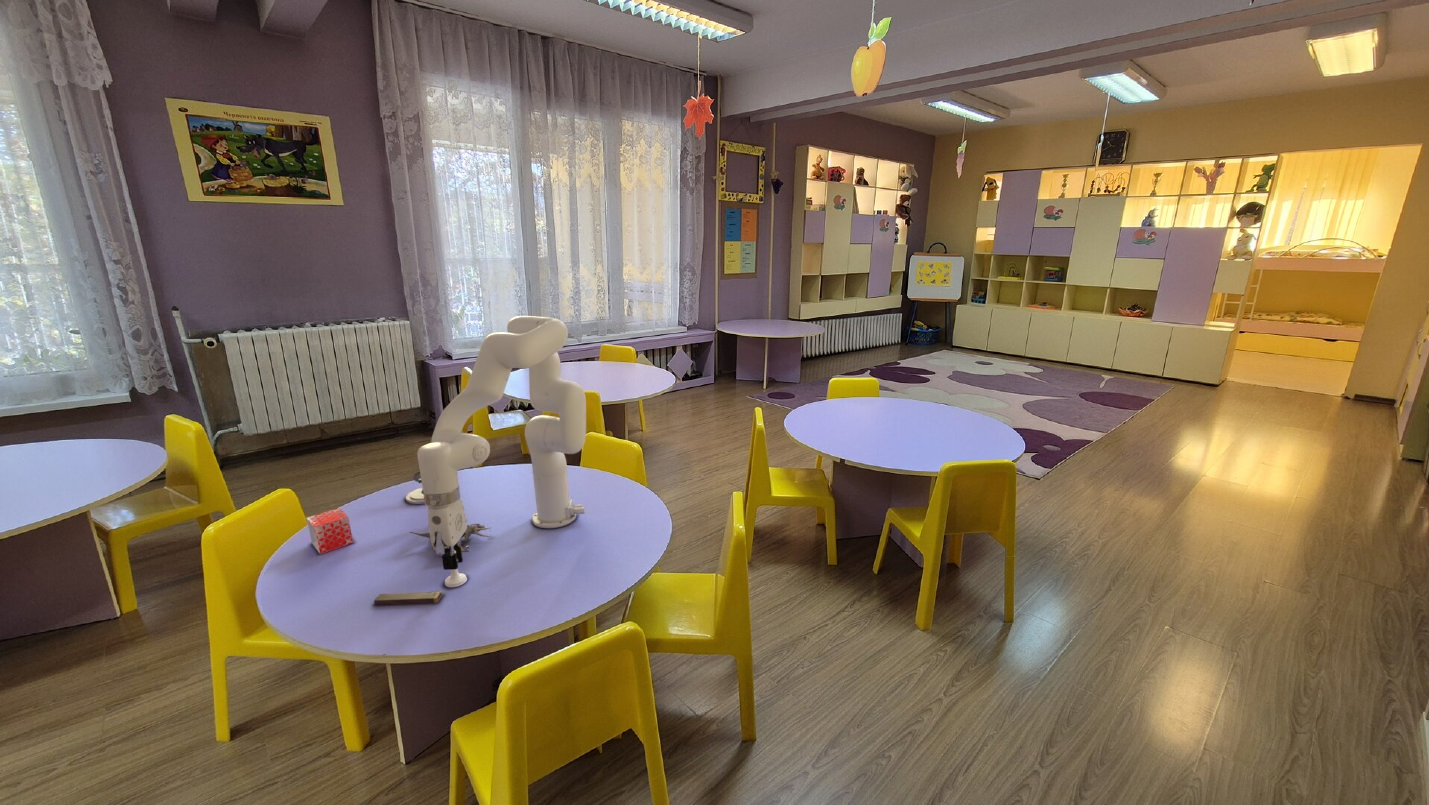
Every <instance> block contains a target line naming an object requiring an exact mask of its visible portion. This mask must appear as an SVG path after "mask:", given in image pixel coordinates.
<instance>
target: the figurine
mask: <svg viewBox="0 0 1429 805" xmlns="http://www.w3.org/2000/svg"><path fill="white" fill-rule="evenodd" d="M486 530H489V531H491V530H492V527H491V526H490V527H486V526H485V525H484V524H480V523H472V524H467V529H466V531H465V532H464V534H463V535H462V537H461V538H460V540H461V542H462V541H464V543H466V542H467V541H468V540H469V538H470V537H471V536H472V535H477V536H480V537H483V538H490V537H492V535H486V534H483V533H481V532H480V531H486ZM409 533H410V534H414V535H417V536H420V537H424V538H427V539H430V532H415V531H410V532H409ZM459 547H461V552H462V553H470V550H469V549H470V545H466V546H465V547H463V546H462V545H461V546H459ZM444 548H447V547H444ZM431 550H432V551H433V552H435V553H436V547H433V546H432V545H431Z"/></svg>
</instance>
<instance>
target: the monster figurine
mask: <svg viewBox="0 0 1429 805" xmlns="http://www.w3.org/2000/svg"><path fill="white" fill-rule="evenodd" d="M419 475H420V470H419V471H416V472H415V473H414V475H412V478H413V480H414V481H415V482H417V483H420V484H422V481H421V479H419ZM405 499H406V502H407V503H408V504H412V505H423V504H425V499H424V493H423V487H420V488H417V489H414V490H412V491H410V492H408V493H407V494H406V496H405Z"/></svg>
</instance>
